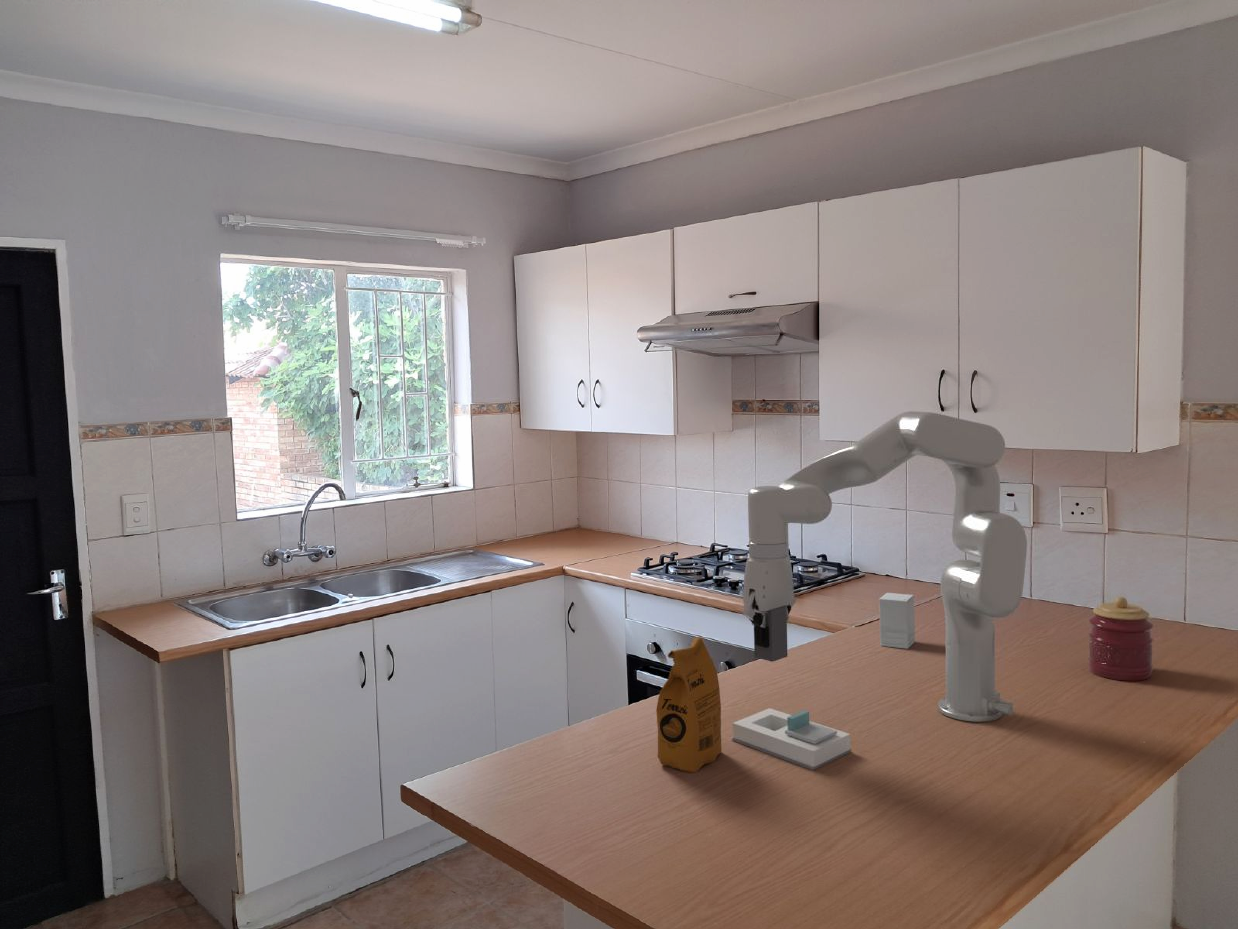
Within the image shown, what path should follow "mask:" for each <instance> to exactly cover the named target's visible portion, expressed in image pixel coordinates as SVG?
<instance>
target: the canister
mask: <svg viewBox="0 0 1238 929" xmlns="http://www.w3.org/2000/svg"><path fill="white" fill-rule="evenodd" d="M1092 612H1093V614H1094V615H1091V617H1089V618H1088V622H1089V623H1090V625H1091V626H1090V628H1091V629H1090V631H1089V632H1088V637H1089V640H1088V641H1089V643H1088V644H1089V646H1088V649H1089V652H1088V653H1089V654H1088V655H1089V656H1088V662H1087V664H1088V667H1089V671H1090V672H1092V673H1093V674H1094V675H1097V676H1100V677H1103V678H1107V679H1110V680H1116V681H1126V682H1127V681H1129V682H1131V681H1144V680H1147V679H1149V678H1151V677H1152V673H1153V671H1154V670H1153V667H1154V665H1153V642H1154V638H1153V636H1152V633H1151V630H1152V629H1153V628H1154V627H1155V626H1154V623H1153V622H1152V621H1151V620H1149V619H1148V618H1149V617H1150V613H1149V611H1147V610H1145V609H1143V608H1142V607H1141V606H1139V605H1136V604H1132V603H1129V602H1128V600H1127V598H1125V597H1123V596H1117V597H1116V598H1115V599H1114V601H1113V602H1104V603H1102V604H1100V605H1098V606H1097V607H1094V608H1093V609H1092Z"/></svg>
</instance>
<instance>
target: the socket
mask: <svg viewBox="0 0 1238 929" xmlns="http://www.w3.org/2000/svg"><path fill="white" fill-rule="evenodd" d="M792 715H793V714H792ZM792 715H791V714H788V713H786V712H784V711H783V712H782V711H779V710H776V709H773V708H770V707H769V708H766V709H763V710H761V711H759V712H757V713H754V714H752V715H749V716H747V717H746V716H745V717H744V718H741V719H738V720H737V721H734V722H733V723H732V738H731V741H732V742H735V743H738V744H741V745H743V746H746V747H748V748H751V749H754V750H756V751H760V752H761V753H765V754H767V755H770V756H773V757H774V758H775V757H776V758H778V759H781V760H784V761H786V762H789V763H791V764H794V765H796V766H798V767H799V766H800V767H801V768H805V769H806V770H807V769H808V770H811V771H814V770H817V769H819V768H821V767H822V766H823V767H824V765H827V764H829V763H831V762H832V761H836V760H837V759H839V758H841V757H843V756H845V755H847V754H849V753H851V752H852V748H851V734H850V733H848V732H846V731H845V732H844V731H842V730H838V729H836V728H832V727H829V726H827V725H826V726H825V725H823V724H820V723H817V722H813V721H810V720H809V722H811V723H814V724H817V725H820V726H823V727H827V728H830V729H833V730H836V731H837V734H836V735H834V736H832V737H830V738H827V739H825V740H823V741H821V742H819V743H817V744H813V743H810V742H807V741H805V740H802V739H799V738H796V737H793V736H790V735H787V734H785V730H788V721H787V717H789V716H792Z"/></svg>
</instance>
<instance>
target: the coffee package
mask: <svg viewBox="0 0 1238 929" xmlns="http://www.w3.org/2000/svg"><path fill="white" fill-rule="evenodd" d="M667 657H668V659H672V661H673V665H672V666H671V668H670V671H669V675H668V679H667V680H666V681H665V683H664V685H663V686H662V688H661V690H660V692H659V695H658V699H657V705H656V709H655V710H656V723H657V759H658V761H659V762H660V764H661V765H663V766H668V767H671V768H673V769H677V770H680V771H682V772H688V773H696V772H698V771H699V770H700V769H701V768H702V766H704V765H705V764H711V763H713V762H715V761H716V759H717V757H718V755H720V754H721V752H722V732H721V731H722V704H721V694H720V693H721V692H720V682H719V677H718V672H717V668H716V665H715V664H714V661H713V659H712V657H711V655H710V652H709V651H708V649H707V646H706V645H705V643H704V641H703V638H702V637H701V636H697V637H696V638H693V640H692V642H691V645H690V647H686V648H680V649H675V650H670V652H668V654H667Z"/></svg>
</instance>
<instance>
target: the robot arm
mask: <svg viewBox="0 0 1238 929" xmlns="http://www.w3.org/2000/svg"><path fill="white" fill-rule="evenodd" d="M1005 451H1006V442H1005V439H1004V436H1003V434H1002V433H1001V431H999V430H998V429H997V428H996V427H994V426H992V425H988V424H985V423H980V422H975V421H971V420H967V419H962V418H959V417H953V416H950V415H946V414H942V413H937V412H932V411H931V412H929V411H928V412H927V411H915V410H914V411H912V410H911V411H906V412H902V413H900V414H898V415H896V416H894V417H893V418H891V419H889V420H888V421H886V422H885V423H884V424H881V425H880V426H879V427H878V428H876V429H874V430H872V431H871V432H870V433H868V434H867V435H865V436H863V437H862V438H861V439H859V440H857V441H856V442H855V443H853V444H851V445H849V446H847V447H845V448H843V449H841V450H837V451H835V452H833V453H832V454H829V455H827V456H823V457H822V458H819V459H817V460H815V461H813V462H811V463H809V464H808V465H805V466H804V467H803V468H801V469H799V470H798V471H796V472H794V473H793V474H792V475H790V476H789V477H788V478H786V479H784V480H783V481H782V482H781V483H779V485H778V486H776V485H762V486H755V487H752V488H751V489H750V490H749V491H748V493H747V513H748V516H747V517H748V518H747V519H748V556H749V557H748V558H747V559H746V562H745V569H744V577H743V591H742V592H743V593H742V594H743V598H742V599H743V607H744V608H743V610H742V614H743V616H744V617H745V618H747V619H748V620H749V621H750V622H751V625H752V626H753V637H754V636H755V645H757V646H761V647H765V648H767V647H769V627H766V625H767V617H768V611H770V610H773V609H776V608H780V607H783V606H787V622H788V621H789V618H790V617H789V616H790V613H791V611H792V608H793V607H794V605H795V604H796V602H797V598H796V597H795V595H794V579H793V578H794V576H793V569H792V562H791V557H790V554H789V552H790V551H789V550H790V549H789V545H790V543H789V524H801V525H802V524H803V525H804V524H805V525H814V524H819V523H821V522H822V521H824V520H825V519H827V518H828V517H829V515H830V513H831V512H832V508H833V502H832V498H831V496H830V494H833V493H834V492H837V491H841V490H845V489H848V488H854V487H861V486H863V487H864V486H866V485H870V484H873V483H876V482H877V481H879V480H880V479H882V478H884V477H885V476H886V475H888V474H889V473H890V472H892V471H893V470H895V469H897V468H899V467H900V466H902V465H903V464H904V463H906V462H907V461H909V460H910V459H912V458H914V457H915V456H922V457H929V458H933V459H938V460H941V461H942V462H944V464H945V465H946V466H947V467H948V468H949V470H950V472H951V474H952V475H953V479H954V483H955V484H954V485H955V491H954V492H955V496H954V497H955V498H954V506H953V508H954V509H953V519H952V531H951V534H952V537H951V538H952V541H953V544H954V546H955V547H956V548H957V549H958V550H960V551H961V552H964V553H966V554H969V555H971V556H975V557H978V558H980V562H979V561H975V560H971V559H958V560H955V561H953V562H950V564H948V565H947V566H946V567H945V568H944V570H943V572H942V574H941V577H940V594H941V598H942V603H943V608H944V620H945V623H944V624H945V697H943V698H941V699H940V700H939V701H938V703H937V709H938V711H939V712H941V714H943V715H945V716H947V717H949V718H952V719H956V720H960V721H966V722H978V723H979V722H980V723H981V722H991V721H996V720H998V719H1000V718H1002V716H1003V714H1004V715H1007V716H1012V714H1013V712H1014V711H1013V710H1014V706H1013V702H1011V701H1008V700H1002V698H1001V692H1000V691H996V627H995V621H994V618H996V619H1000V618H1001V619H1002V618H1007V617H1009V616H1010V615H1012V614H1013V613H1014V612H1016V610H1017V608H1018V607H1019V605H1020V603H1021V600H1022V597H1023V590H1024V583H1025V582H1024V581H1025V573H1026V562H1027V550H1028V539H1027V538H1028V537H1027V534H1026V531H1025V529H1024V528H1025V527H1023V524H1022V523H1021V522H1020V521H1019V520H1018V519H1016V518H1015V517H1014V516H1012V515H1009V514H1006V513H1002V512H1001V509H1000V505H1001V480H1000V474H999V471H998V469H997V468H996V464H998V463H999V462H1000V461H1001V460H1002V458H1003V457H1004V454H1005ZM758 608H759V609H758ZM759 613H761V614H762V616H761V618H760V617H759Z"/></svg>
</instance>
